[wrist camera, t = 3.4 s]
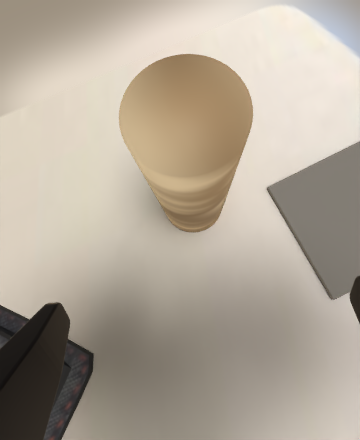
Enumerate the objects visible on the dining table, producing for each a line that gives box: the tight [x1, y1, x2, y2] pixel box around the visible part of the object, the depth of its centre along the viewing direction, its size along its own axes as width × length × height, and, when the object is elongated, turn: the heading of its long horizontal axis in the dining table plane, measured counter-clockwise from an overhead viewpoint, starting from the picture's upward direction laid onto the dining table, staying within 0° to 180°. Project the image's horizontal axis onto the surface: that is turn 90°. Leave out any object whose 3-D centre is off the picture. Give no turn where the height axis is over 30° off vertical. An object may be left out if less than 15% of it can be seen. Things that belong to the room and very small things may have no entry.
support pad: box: [267, 142, 360, 300], centre depth 20 cm, size 9×9×1 cm
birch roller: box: [119, 54, 253, 232], centre depth 15 cm, size 4×4×12 cm
